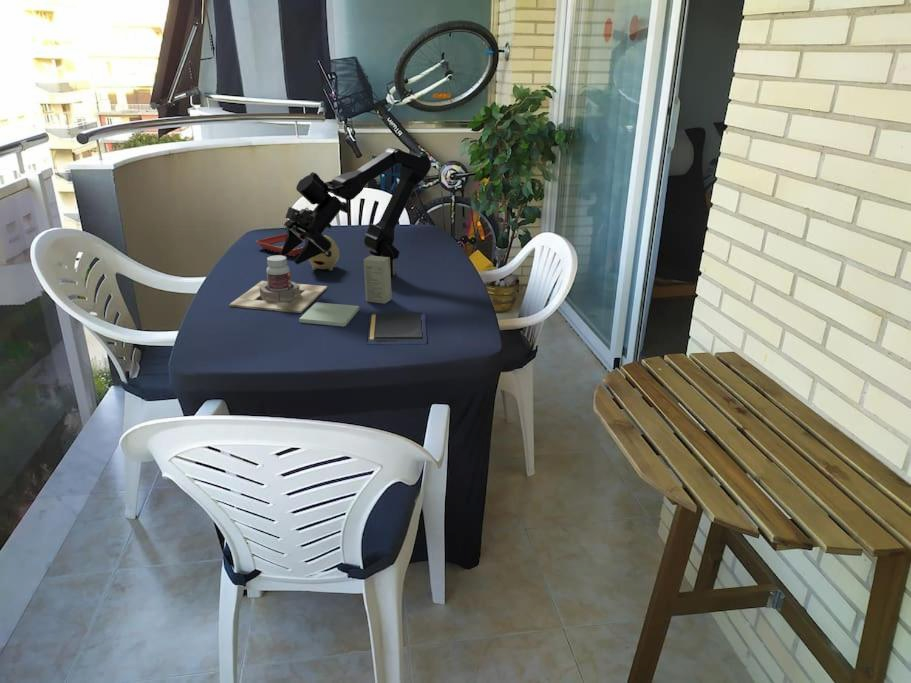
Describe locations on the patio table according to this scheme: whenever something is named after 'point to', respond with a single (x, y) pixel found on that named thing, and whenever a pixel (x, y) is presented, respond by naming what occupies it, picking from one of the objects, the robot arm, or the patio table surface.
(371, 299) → the skincare box
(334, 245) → the beige toy figure
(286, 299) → the collar plate
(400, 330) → the dark book
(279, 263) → the pill bottle
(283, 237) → the red square frame
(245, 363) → the patio table surface
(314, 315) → the green mat
